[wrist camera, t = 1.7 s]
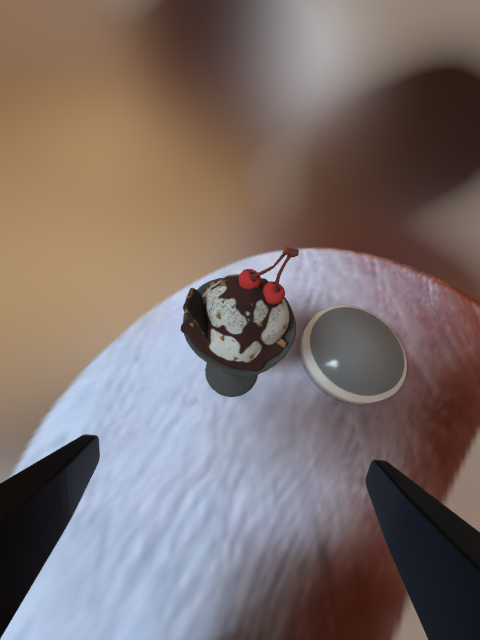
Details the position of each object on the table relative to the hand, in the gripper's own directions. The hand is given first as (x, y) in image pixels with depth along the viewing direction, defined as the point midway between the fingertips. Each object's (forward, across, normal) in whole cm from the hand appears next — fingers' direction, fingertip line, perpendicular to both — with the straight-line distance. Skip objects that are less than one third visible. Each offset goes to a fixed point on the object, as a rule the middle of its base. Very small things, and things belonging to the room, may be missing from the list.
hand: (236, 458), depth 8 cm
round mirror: (+16, -12, +2) cm, 20 cm away
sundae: (+15, 0, +4) cm, 15 cm away
